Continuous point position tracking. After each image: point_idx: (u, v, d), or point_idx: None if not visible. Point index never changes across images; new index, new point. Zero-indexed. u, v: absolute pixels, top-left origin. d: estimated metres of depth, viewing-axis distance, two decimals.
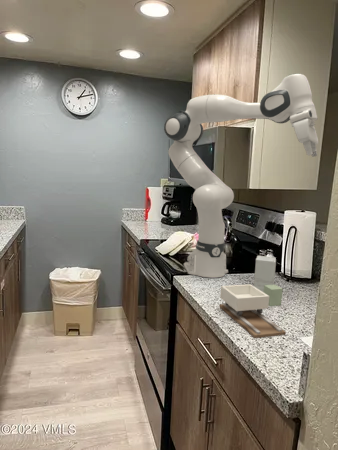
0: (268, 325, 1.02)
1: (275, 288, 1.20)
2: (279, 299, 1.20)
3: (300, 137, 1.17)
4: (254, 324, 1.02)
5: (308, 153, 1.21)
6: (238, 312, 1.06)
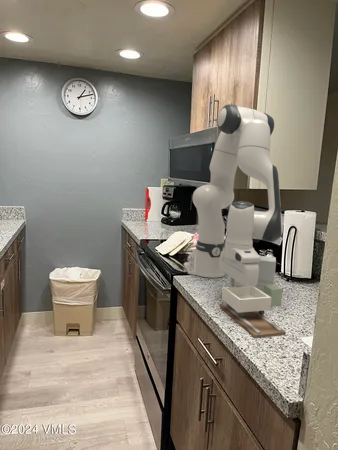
0: (268, 325, 1.02)
1: (275, 288, 1.20)
2: (279, 299, 1.20)
3: (250, 284, 1.06)
4: (254, 324, 1.02)
5: None
6: (240, 313, 1.05)
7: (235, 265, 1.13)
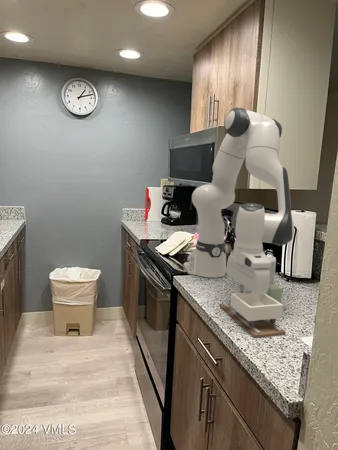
0: (268, 325, 1.02)
1: (275, 288, 1.20)
2: (279, 299, 1.20)
3: (260, 291, 1.01)
4: (254, 324, 1.02)
5: None
6: (250, 322, 1.00)
7: (244, 270, 1.08)
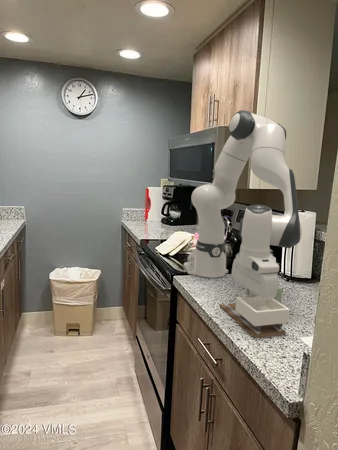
0: (268, 325, 1.02)
1: None
2: (279, 299, 1.20)
3: (268, 296, 0.97)
4: None
5: None
6: (256, 327, 0.97)
7: (251, 274, 1.04)
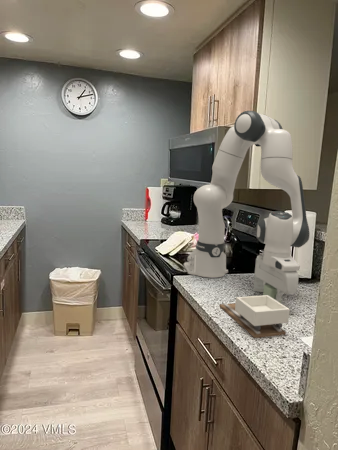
0: (268, 325, 1.02)
1: (275, 288, 1.20)
2: None
3: (290, 291, 1.11)
4: None
5: (278, 299, 1.18)
6: (256, 326, 0.97)
7: (274, 272, 1.18)
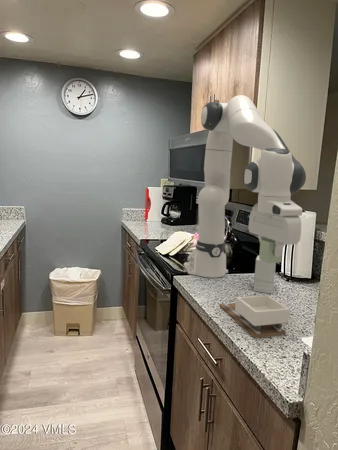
0: (268, 325, 1.02)
1: (274, 241, 0.99)
2: None
3: (292, 240, 0.90)
4: None
5: (277, 254, 0.97)
6: (256, 326, 0.97)
7: (271, 222, 0.97)
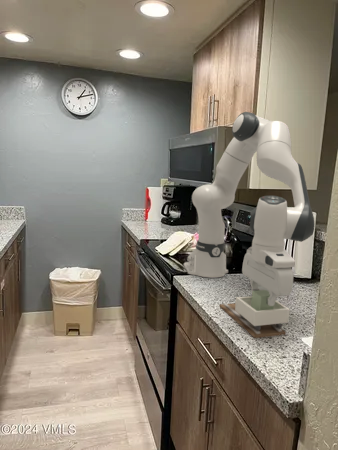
0: (268, 325, 1.02)
1: (265, 294, 0.99)
2: (270, 308, 1.00)
3: (283, 293, 0.90)
4: None
5: (271, 304, 0.96)
6: (256, 326, 0.97)
7: (264, 270, 0.97)
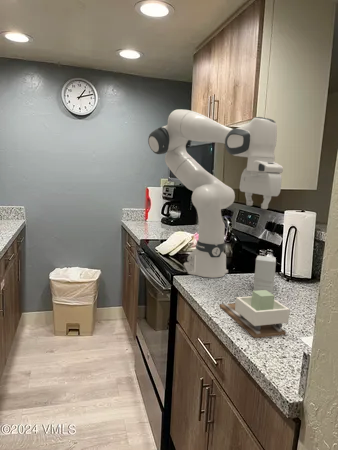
0: (268, 325, 1.02)
1: (265, 294, 0.99)
2: (270, 308, 1.00)
3: (273, 192, 1.10)
4: None
5: (264, 207, 1.15)
6: (256, 326, 0.97)
7: (257, 179, 1.17)
